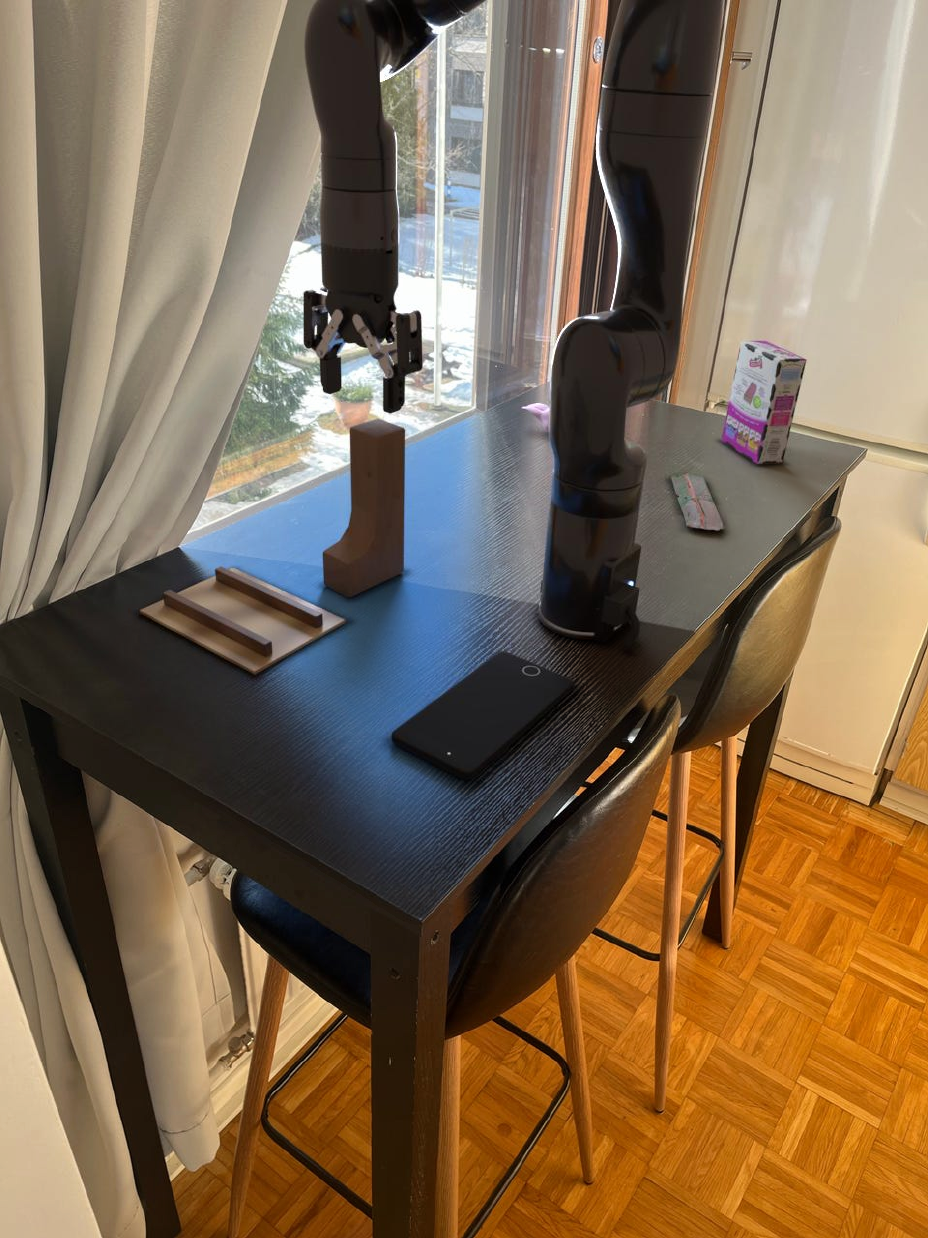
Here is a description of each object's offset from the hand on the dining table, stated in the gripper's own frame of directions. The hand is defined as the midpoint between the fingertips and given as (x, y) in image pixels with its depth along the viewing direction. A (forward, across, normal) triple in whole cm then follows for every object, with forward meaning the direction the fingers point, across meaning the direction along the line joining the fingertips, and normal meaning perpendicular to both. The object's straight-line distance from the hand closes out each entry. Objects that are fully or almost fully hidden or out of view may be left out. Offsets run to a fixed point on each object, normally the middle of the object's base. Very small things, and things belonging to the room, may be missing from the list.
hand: (361, 401), depth 100 cm
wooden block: (+22, 0, 0) cm, 22 cm away
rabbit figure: (+22, -9, +57) cm, 62 cm away
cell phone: (+21, +27, -12) cm, 36 cm away
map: (+22, +20, +47) cm, 55 cm away
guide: (+21, -4, -15) cm, 26 cm away
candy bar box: (+22, +18, +72) cm, 77 cm away
